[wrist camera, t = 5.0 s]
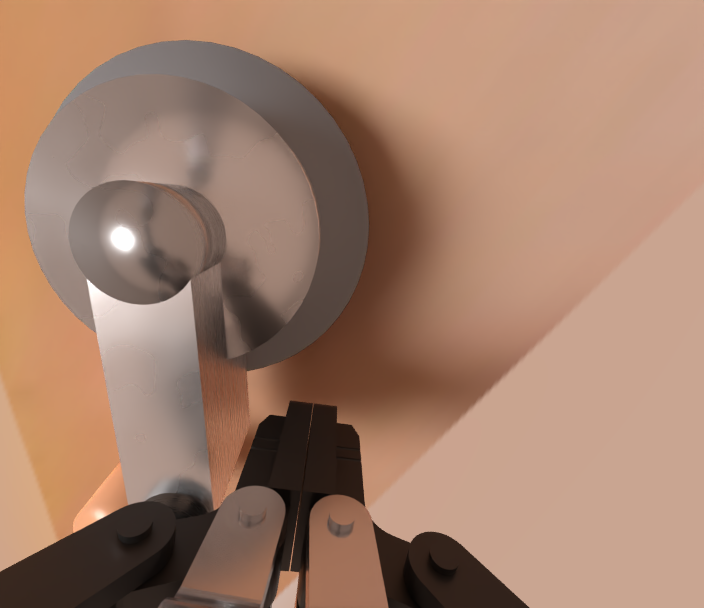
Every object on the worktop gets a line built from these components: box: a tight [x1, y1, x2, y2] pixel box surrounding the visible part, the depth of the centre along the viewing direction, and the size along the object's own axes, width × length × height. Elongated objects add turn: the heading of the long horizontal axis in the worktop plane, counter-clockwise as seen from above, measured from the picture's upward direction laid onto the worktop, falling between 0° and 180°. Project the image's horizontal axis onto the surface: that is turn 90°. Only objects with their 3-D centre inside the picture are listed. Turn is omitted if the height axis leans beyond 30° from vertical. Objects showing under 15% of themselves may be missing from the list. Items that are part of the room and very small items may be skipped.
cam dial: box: [25, 74, 321, 519], centre depth 9 cm, size 11×7×4 cm, turn 179°
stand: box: [52, 40, 369, 533], centre depth 12 cm, size 15×10×4 cm, turn 1°
